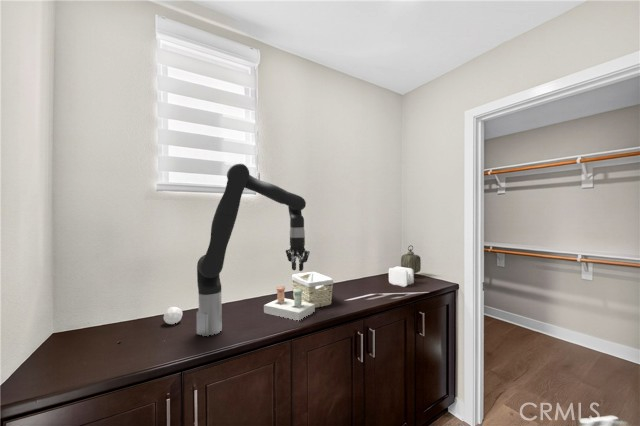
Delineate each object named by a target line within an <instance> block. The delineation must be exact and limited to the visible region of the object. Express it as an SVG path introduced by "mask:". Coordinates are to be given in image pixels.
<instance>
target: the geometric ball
mask: <svg viewBox="0 0 640 426" xmlns="http://www.w3.org/2000/svg"><path fill="white" fill-rule="evenodd" d="M182 317H183V310H182V309H181V308H180V307H177V306H170V307H168V309H166V310H165V312H164V314H163V320H164V322H165V323H166V324H168V325H176V324H177V323H179V322H180V321H181V320H182ZM175 323H176V324H175Z"/></svg>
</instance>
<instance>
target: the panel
mask: <svg viewBox="0 0 640 426" xmlns="http://www.w3.org/2000/svg"><path fill="white" fill-rule="evenodd" d="M315 310H316V308H315V304H312V303H307V302H302V305H299V306H296V305H294V299H291V298H286V297H284V302H278V298H276V299H275V300H273V301H270V302H268V303H266V304H264V305H263V313H264V314H268V315H271V316H276V317H279V316H280V318H283V317H284V319H287V318H289V319H288V320H292V319H293V321H296V320H298V321H297V322H300V321H302V320H304V319H305V318H307V317H309V316H311V315H312V314H314V313H315ZM313 312H314V313H313ZM308 315H309V316H308ZM306 316H307V317H306ZM304 317H305V318H304ZM303 318H304V319H303ZM301 319H302V320H301ZM299 320H300V321H299Z"/></svg>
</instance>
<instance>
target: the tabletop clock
mask: <svg viewBox="0 0 640 426" xmlns="http://www.w3.org/2000/svg"><path fill="white" fill-rule="evenodd" d="M410 247H412V248H410ZM407 250H408V252H407V253H405V254H402V255H401V257H400V267H405V268H411V269H413V271H414V279H415V274H417V273H419V272H420V271H421V270H422V269H421V266H422V265H421V264H422V262H421V261H422V259H421V256H420V255H419V254H415V253H414V251H413V250H414V247H413V245H408V247H407Z"/></svg>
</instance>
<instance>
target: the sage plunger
mask: <svg viewBox="0 0 640 426" xmlns="http://www.w3.org/2000/svg"><path fill="white" fill-rule="evenodd" d="M292 292H293V293H294V296H293V300H294V305H296V306H299V305H302V294H301V293H302V290H301V289H295V290H293V289H292ZM293 293H292V294H293Z"/></svg>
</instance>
